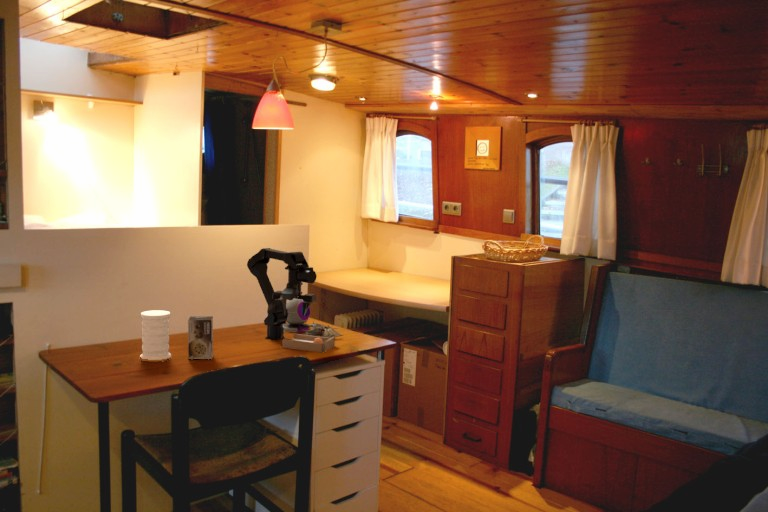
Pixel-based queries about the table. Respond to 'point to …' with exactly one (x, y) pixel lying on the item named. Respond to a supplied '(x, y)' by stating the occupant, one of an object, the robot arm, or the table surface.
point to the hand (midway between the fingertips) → (293, 315)
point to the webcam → (296, 316)
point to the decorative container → (155, 335)
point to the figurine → (322, 331)
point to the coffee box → (200, 337)
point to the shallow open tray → (308, 343)
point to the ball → (318, 340)
